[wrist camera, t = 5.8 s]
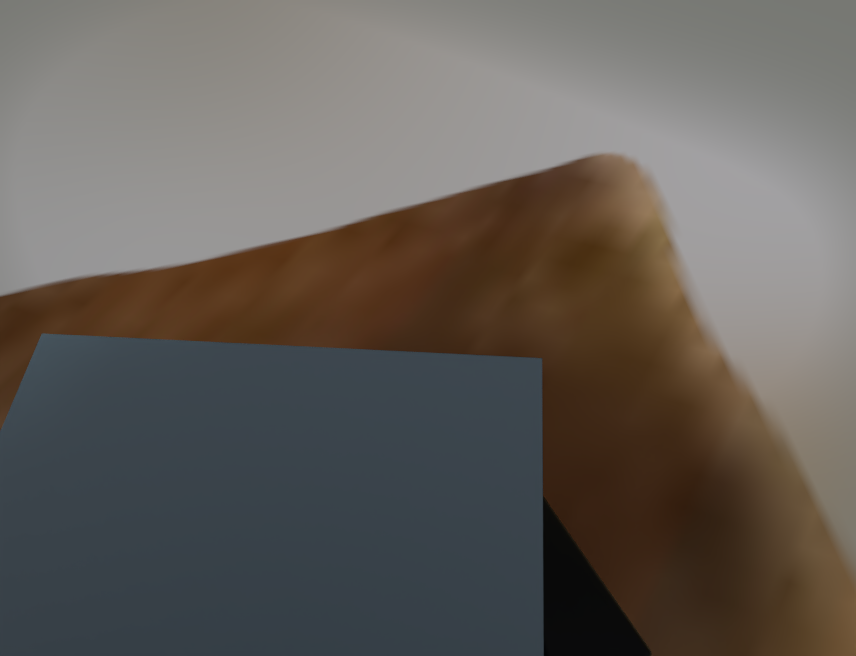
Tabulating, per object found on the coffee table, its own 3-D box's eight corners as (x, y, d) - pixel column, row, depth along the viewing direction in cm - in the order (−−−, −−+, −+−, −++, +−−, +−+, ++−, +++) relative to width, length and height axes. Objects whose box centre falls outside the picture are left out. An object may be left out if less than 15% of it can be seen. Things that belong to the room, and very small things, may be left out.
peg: (493, 483, 14) (541, 357, 3) (488, 636, 13) (545, 1325, 2) (366, 472, 15) (41, 332, 4) (347, 618, 13) (-274, 1077, 2)
